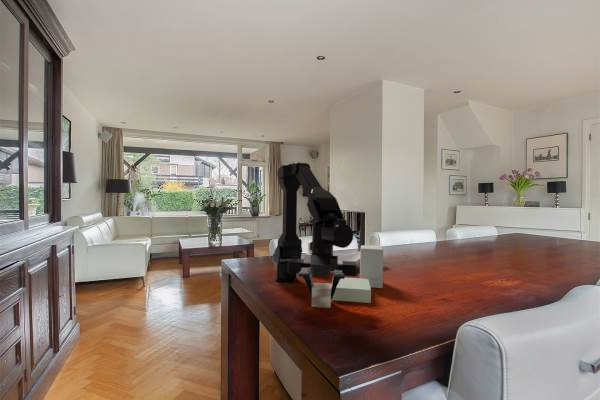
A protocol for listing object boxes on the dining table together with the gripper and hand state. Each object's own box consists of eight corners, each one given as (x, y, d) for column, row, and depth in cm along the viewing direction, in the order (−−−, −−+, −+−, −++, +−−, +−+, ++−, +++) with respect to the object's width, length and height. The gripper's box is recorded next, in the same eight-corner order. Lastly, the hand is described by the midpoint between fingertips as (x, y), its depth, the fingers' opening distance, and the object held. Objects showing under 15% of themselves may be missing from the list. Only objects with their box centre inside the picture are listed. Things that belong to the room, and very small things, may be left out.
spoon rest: (336, 273, 114) (337, 254, 114) (325, 265, 126) (326, 249, 125) (390, 269, 121) (390, 252, 121) (375, 263, 132) (375, 247, 132)
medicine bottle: (326, 270, 118) (327, 240, 118) (322, 274, 111) (322, 242, 111) (309, 268, 120) (309, 238, 120) (304, 272, 113) (304, 241, 113)
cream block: (311, 306, 79) (311, 288, 79) (313, 300, 84) (313, 282, 84) (330, 308, 78) (330, 289, 78) (331, 301, 83) (331, 283, 83)
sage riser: (331, 301, 84) (331, 287, 84) (333, 289, 95) (333, 276, 95) (370, 304, 83) (370, 289, 83) (368, 291, 94) (368, 278, 93)
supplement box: (383, 288, 95) (383, 249, 95) (359, 286, 97) (360, 248, 97) (381, 282, 103) (382, 245, 102) (359, 280, 104) (360, 244, 104)
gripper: (283, 245, 74) (282, 306, 75) (358, 248, 72) (357, 312, 72) (291, 238, 85) (290, 292, 86) (356, 241, 83) (355, 296, 83)
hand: (321, 298), depth 81 cm, fingers closed on cream block, 5 cm apart
